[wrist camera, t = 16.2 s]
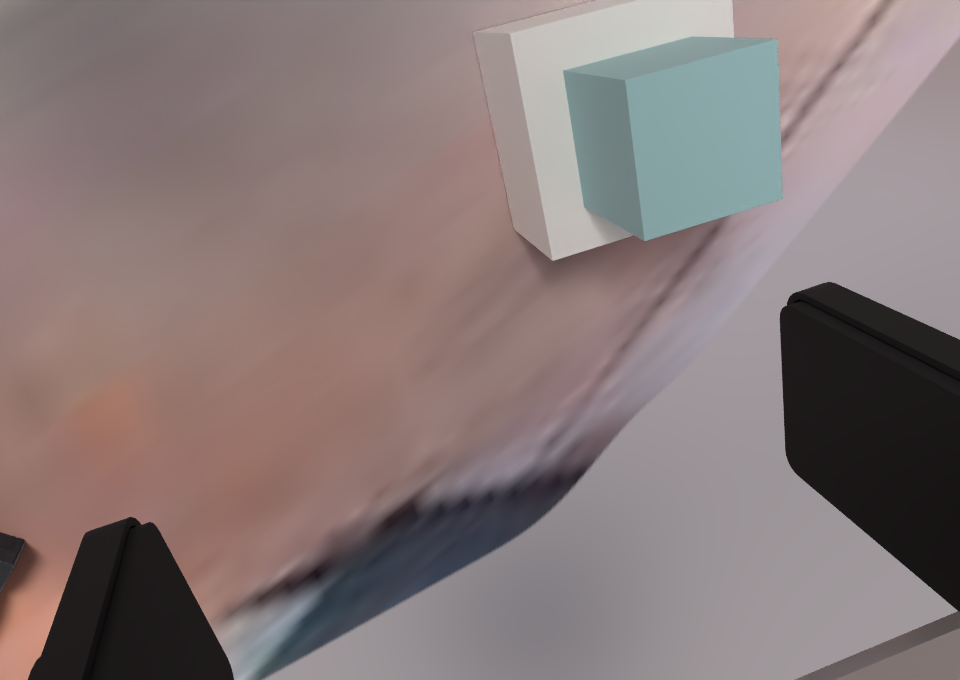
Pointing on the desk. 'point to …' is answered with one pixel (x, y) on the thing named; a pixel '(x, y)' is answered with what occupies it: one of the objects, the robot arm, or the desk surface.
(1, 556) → the disk drive
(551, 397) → the desk surface
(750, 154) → the teal cube
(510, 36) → the cream block
